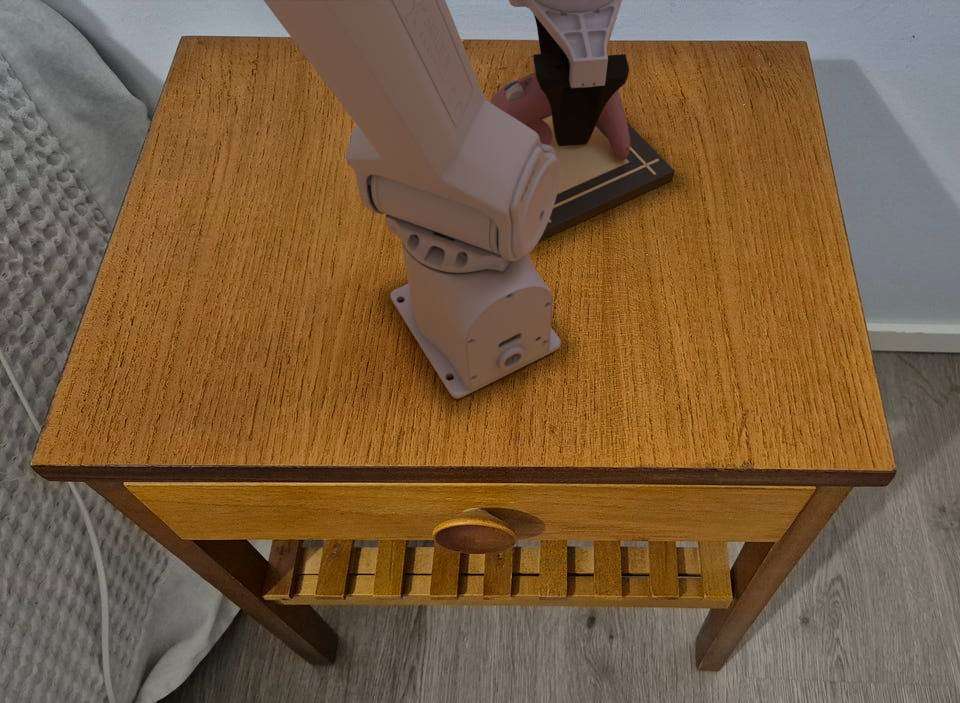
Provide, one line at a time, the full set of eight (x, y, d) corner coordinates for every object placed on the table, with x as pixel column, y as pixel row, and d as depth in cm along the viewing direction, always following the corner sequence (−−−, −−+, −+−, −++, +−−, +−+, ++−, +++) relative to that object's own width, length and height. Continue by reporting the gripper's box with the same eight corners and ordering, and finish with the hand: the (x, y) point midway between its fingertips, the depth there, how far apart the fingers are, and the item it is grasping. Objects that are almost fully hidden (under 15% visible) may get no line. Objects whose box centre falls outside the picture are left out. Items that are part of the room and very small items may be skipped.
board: (672, 180, 60) (675, 169, 59) (534, 243, 57) (534, 233, 56) (584, 88, 66) (585, 77, 65) (454, 142, 63) (453, 131, 62)
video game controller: (614, 145, 63) (609, 51, 59) (636, 161, 59) (632, 62, 56) (492, 171, 62) (478, 77, 58) (506, 189, 58) (493, 90, 54)
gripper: (497, -149, 50) (500, 42, 61) (520, -7, 42) (518, 182, 53) (612, -157, 50) (593, 36, 61) (656, -17, 42) (625, 174, 53)
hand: (565, 103), depth 57 cm, fingers open, 7 cm apart
